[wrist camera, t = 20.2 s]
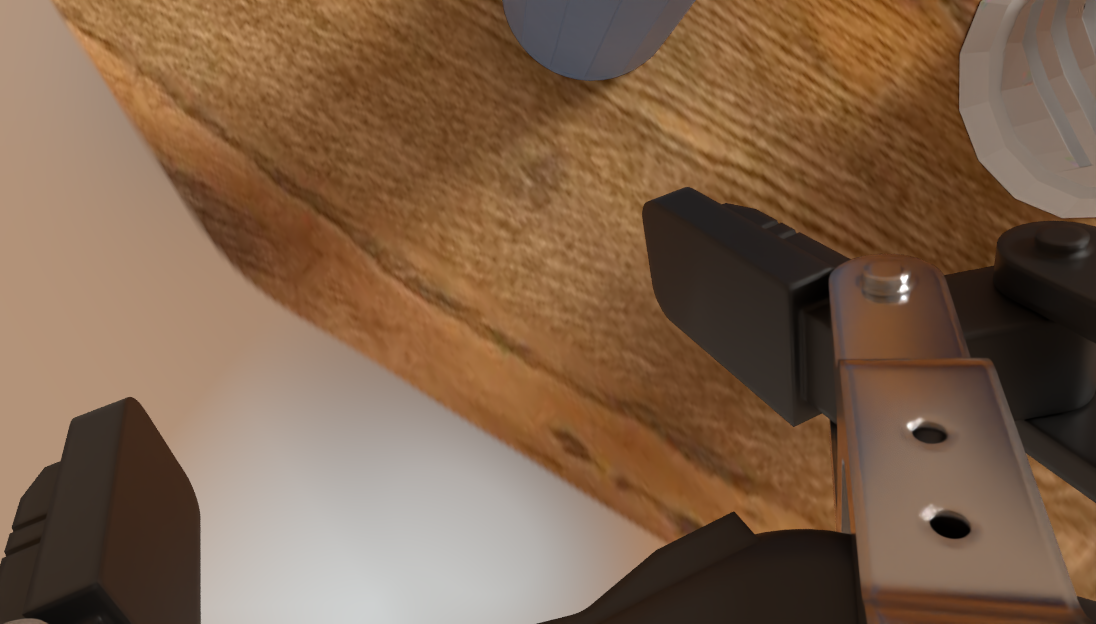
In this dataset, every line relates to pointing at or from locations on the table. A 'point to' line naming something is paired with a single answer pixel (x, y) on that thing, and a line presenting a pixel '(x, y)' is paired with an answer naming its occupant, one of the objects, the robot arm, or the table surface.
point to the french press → (1034, 100)
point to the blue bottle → (593, 33)
